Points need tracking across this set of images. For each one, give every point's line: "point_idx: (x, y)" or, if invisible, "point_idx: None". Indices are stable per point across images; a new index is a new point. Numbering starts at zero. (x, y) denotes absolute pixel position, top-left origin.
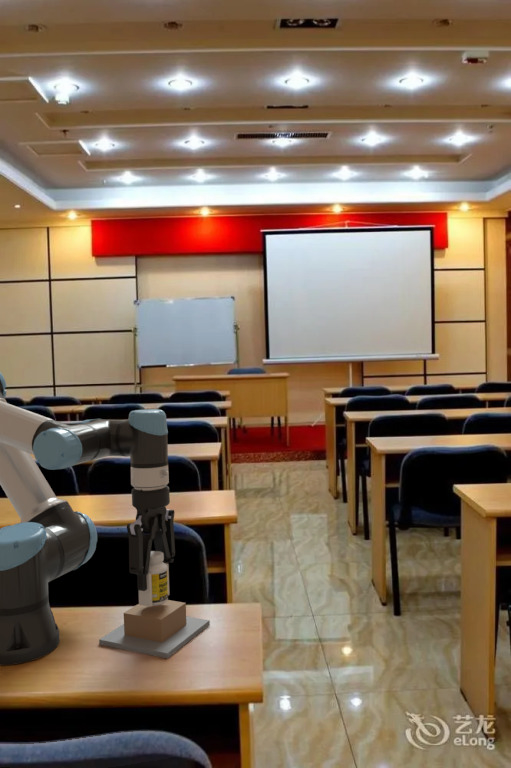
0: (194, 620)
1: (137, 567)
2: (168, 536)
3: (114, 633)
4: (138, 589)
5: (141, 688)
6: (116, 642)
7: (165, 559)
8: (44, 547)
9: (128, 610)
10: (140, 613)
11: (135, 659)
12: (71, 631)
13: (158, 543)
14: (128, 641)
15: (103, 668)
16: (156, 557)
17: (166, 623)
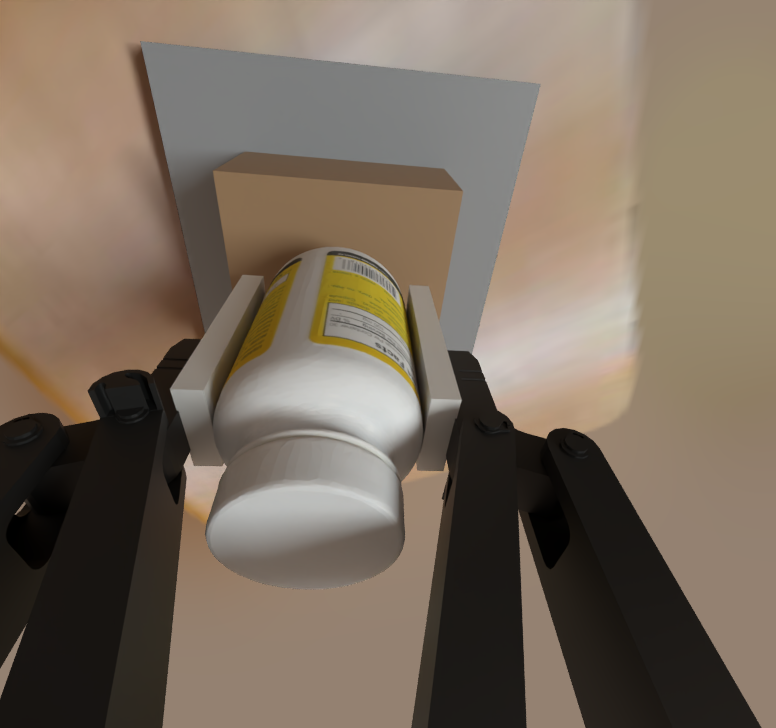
0: (454, 343)
1: (9, 527)
2: (589, 687)
3: (234, 86)
4: (181, 343)
5: (52, 376)
6: (171, 159)
7: (448, 481)
8: None
9: (253, 179)
10: (253, 264)
11: (156, 279)
12: None
13: (433, 619)
14: (206, 208)
15: (32, 209)
16: (253, 576)
17: None
